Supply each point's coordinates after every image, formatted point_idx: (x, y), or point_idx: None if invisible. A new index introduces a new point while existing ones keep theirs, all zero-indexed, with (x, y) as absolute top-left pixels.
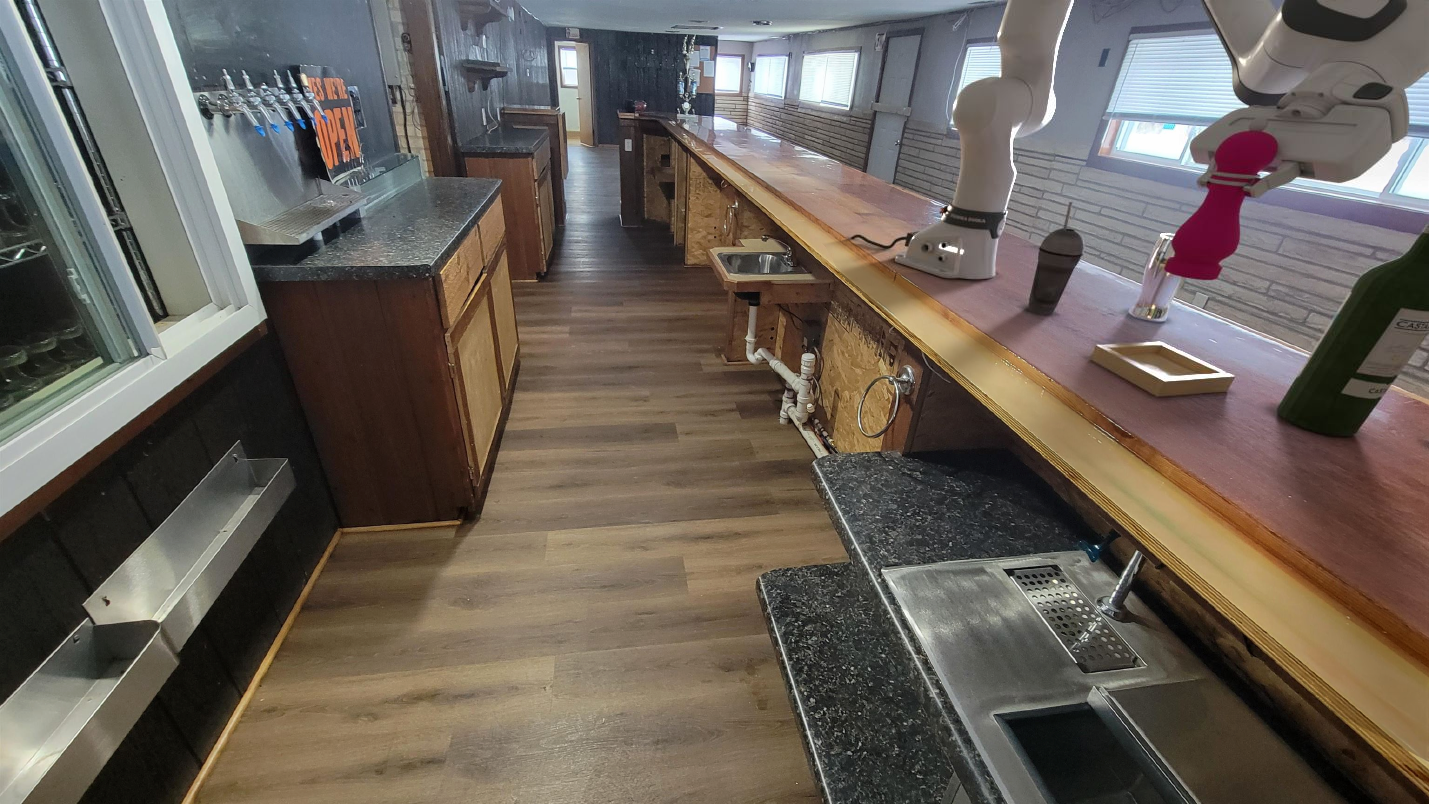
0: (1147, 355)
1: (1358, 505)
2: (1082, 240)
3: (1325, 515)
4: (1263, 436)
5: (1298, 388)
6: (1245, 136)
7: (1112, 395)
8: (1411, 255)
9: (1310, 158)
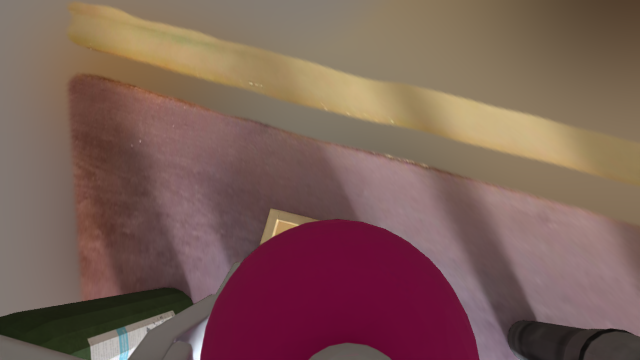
0: None
1: (106, 177)
2: None
3: (118, 139)
4: (183, 228)
5: (171, 300)
6: (334, 252)
7: (295, 170)
8: None
9: (46, 351)
